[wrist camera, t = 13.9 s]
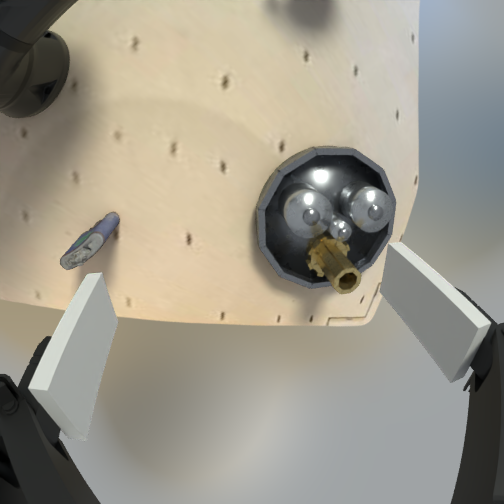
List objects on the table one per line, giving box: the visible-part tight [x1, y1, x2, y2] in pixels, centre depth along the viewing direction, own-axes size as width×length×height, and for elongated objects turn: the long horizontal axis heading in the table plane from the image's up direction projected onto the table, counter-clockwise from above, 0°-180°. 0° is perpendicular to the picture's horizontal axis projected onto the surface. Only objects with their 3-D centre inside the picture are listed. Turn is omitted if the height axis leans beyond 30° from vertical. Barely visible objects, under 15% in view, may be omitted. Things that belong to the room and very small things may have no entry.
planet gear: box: [305, 233, 361, 294], centre depth 48 cm, size 8×8×10 cm
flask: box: [60, 212, 120, 270], centre depth 41 cm, size 9×3×11 cm, turn 119°
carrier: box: [256, 146, 396, 289], centre depth 47 cm, size 24×24×8 cm
